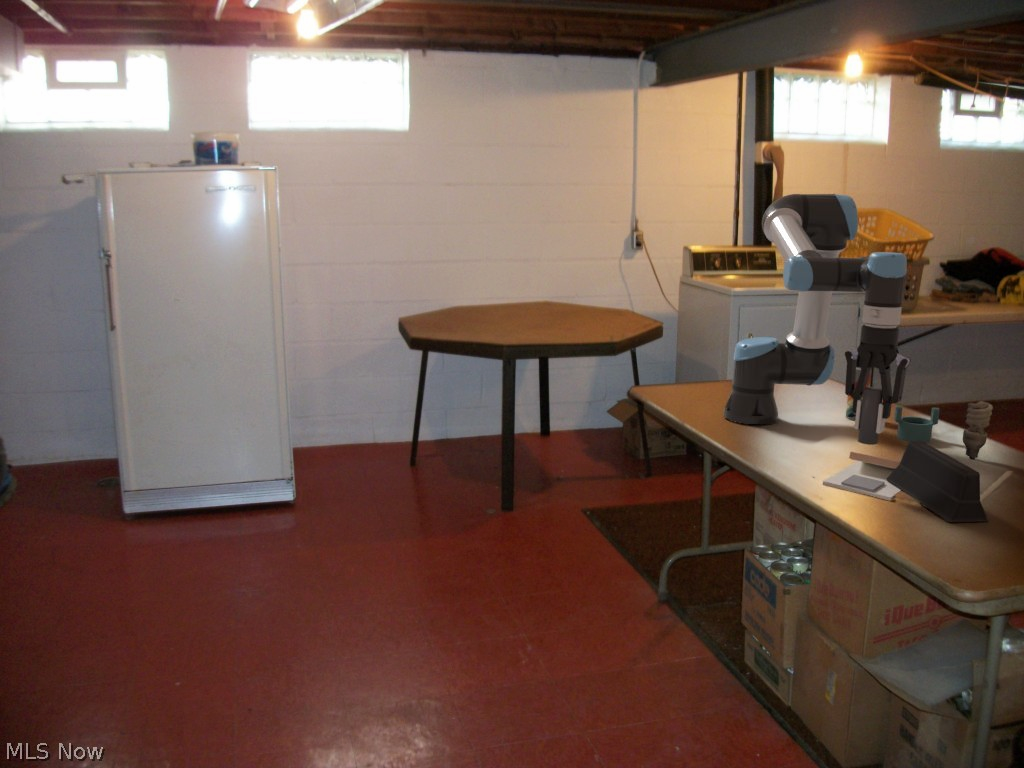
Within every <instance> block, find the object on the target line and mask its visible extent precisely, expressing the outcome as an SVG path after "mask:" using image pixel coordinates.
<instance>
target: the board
mask: <svg viewBox="0 0 1024 768" xmlns="http://www.w3.org/2000/svg"><path fill="white" fill-rule="evenodd" d="M894 470H895V469H894V468H889V467H884V466H880V465H875V464H870V463H866V462H861V461H856V460H855V461H854V462H853V463H852V464H850V465H847V466H846V467H845V468H842V469H841V470H839V471H838V472H836V473H833V475H831V476H829V477H827V478H826V479H824V480H822V485H824V486H827V487H831V488H837V489H840V490H844V491H848V492H852V491H853V493H856V492H857V494H860V493H861V494H860V495H864V494H866V495H865V496H868V495H870V496H869V497H872V496H873V498H876V497H877V499H881V500H885V501H889V502H891V501H893V500H894V499H895V498H897V496H895V495H897V494H898V493H900V492H902V491H901V490H900V489H898V488H897V487H895V486H894V485H892V484H891V483H889V482H888V481H887V478H888V477H889V475H890V474H891V473H892V472H893V471H894Z"/></svg>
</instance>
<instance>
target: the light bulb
mask: <svg viewBox="0 0 1024 768" xmlns="http://www.w3.org/2000/svg"><path fill="white" fill-rule="evenodd" d="M967 407H968V408H967V409H966V412H967V413H966V415H965V416H966V417H965V418H966V420H965V424H966V425H968V426H969V427H968V428H967V429H965V430H963V432H962V442H963V444H964V446H965V455H966V456H967V457H968V458H969V460H975V459H977V458H978V457H979V453H980V450H981V449H982V448H983V447H984V446H985V444H986V443H987V438H988V433H987V432H986V431H985V430H984V429H985V428H987V427H989V426H990V420H991V416H992V414H993V413H992V410H993V409H994V407H993V405H992V404H991V403H989V402H986V401H983V400H978V401H977V402H976V403H974V402H969V403H967Z"/></svg>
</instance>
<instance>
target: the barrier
mask: <svg viewBox="0 0 1024 768" xmlns="http://www.w3.org/2000/svg"><path fill="white" fill-rule="evenodd" d="M899 462H900V464H899V465H898V467H897V468H896V469H895V470H894V471H893V472H892V473H891V474H890V475H889V477H888V478H887V481H888V482H889V483H891V484H892V485H894V486H895V487H897V488H898V489H900V490H901V491H900V492H903V493H904V494H907V495H908V496H909V497H911V498H913V499H914V500H917V501H918V503H919V504H921V505H923V506H924V507H926V508H927V509H928V510H930V511H931V512H933V513H934V514H936V515H937V516H939V517H940V518H942V519H943V520H945V521H946V522H947V523H969V522H971V523H975V522H978V523H979V522H981V523H982V522H989V519H988V517H987V515H986V512H985V509H984V508H983V505H982V503H981V478H980V477H981V474H980V472H979V471H977V470H975V469H973V468H971V467H970V466H968V465H966V464H964V463H963V462H961V461H960V460H957V459H956V458H954V457H952V456H950V455H948V454H947V453H944V452H943V451H940V450H939V449H937V448H936V447H933V446H932V445H930V444H929V443H925V442H923V441H909V442H907V444H906V447H905V449H904V452H903V455H902V458H901V460H900V461H899Z"/></svg>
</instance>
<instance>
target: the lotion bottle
mask: <svg viewBox="0 0 1024 768" xmlns="http://www.w3.org/2000/svg"><path fill="white" fill-rule="evenodd" d="M856 361H857V363H856V379H855V388H856V385H857V382H858V379H859V376H860V373H861V367H862V364H863V361H862V359H861V357H860V356H859V354H858V358H857V359H856ZM872 369H873V368H872ZM872 369H871V371H870V374H869V377H868V380H867V383H866V387H871V382H872V381H871V380H872ZM862 398H863V397H861V399H862ZM846 399H847V400H846V407H845V409H846V410H845V418H846V419H847V420H850V421H855V420H856V413H853V411H852V408H853V398H852V397H851V396H849V395H847V396H846Z"/></svg>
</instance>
